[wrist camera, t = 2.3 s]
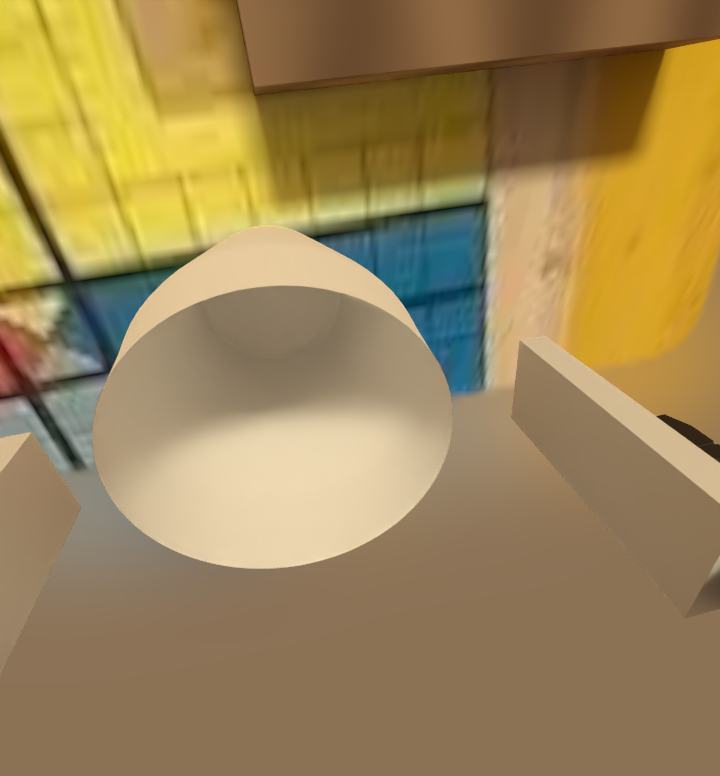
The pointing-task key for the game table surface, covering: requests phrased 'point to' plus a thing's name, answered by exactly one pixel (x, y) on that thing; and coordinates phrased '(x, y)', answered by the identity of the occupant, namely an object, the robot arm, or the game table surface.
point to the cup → (271, 406)
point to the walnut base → (451, 36)
